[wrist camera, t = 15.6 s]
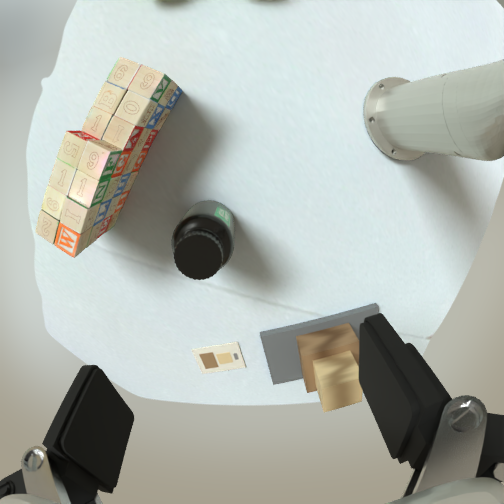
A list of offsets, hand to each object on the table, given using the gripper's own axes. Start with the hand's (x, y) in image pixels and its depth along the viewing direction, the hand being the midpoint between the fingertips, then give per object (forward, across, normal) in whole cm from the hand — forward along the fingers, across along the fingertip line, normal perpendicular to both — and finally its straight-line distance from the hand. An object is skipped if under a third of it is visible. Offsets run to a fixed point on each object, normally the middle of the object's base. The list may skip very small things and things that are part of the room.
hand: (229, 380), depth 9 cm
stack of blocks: (+31, +13, -11) cm, 35 cm away
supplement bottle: (+31, +4, +2) cm, 31 cm away
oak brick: (+24, -9, +27) cm, 37 cm away
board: (+30, -9, +27) cm, 42 cm away
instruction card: (+30, +9, +25) cm, 40 cm away
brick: (+29, -9, +27) cm, 41 cm away
